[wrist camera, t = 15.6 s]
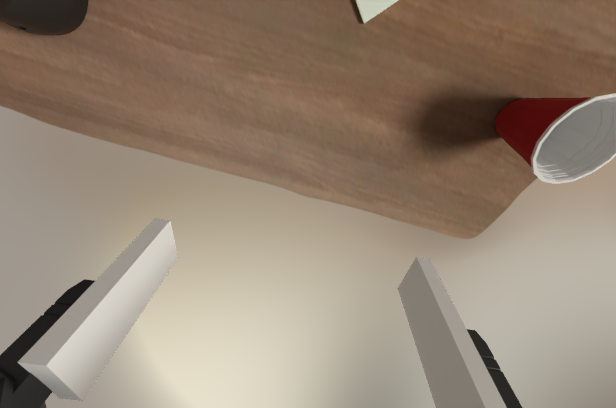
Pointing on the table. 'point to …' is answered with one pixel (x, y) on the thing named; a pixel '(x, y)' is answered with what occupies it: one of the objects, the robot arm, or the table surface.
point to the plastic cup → (561, 134)
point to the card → (372, 7)
